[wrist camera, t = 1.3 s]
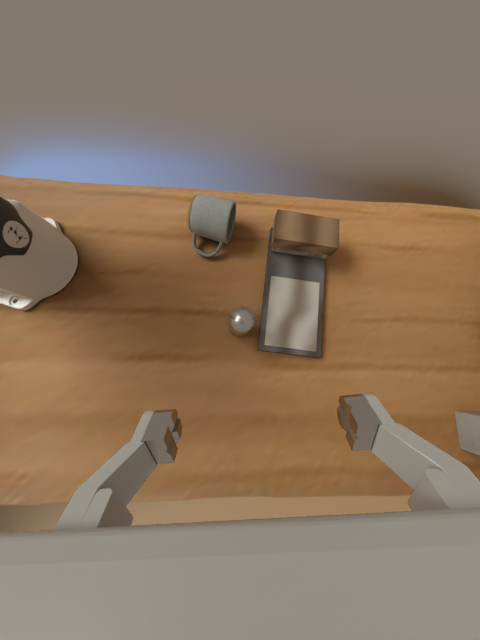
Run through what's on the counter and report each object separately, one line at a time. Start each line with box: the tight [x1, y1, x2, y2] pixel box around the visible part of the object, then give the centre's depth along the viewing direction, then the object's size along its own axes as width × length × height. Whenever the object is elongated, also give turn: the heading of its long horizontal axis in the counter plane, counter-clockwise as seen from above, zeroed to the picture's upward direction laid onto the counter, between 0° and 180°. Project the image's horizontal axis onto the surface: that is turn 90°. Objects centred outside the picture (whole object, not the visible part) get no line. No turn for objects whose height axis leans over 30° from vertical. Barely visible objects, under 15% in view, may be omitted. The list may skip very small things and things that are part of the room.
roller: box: [229, 307, 256, 337], centre depth 38 cm, size 4×4×8 cm
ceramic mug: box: [188, 195, 236, 257], centre depth 41 cm, size 11×8×8 cm
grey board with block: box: [258, 210, 339, 358], centre depth 41 cm, size 12×26×7 cm, turn 173°
